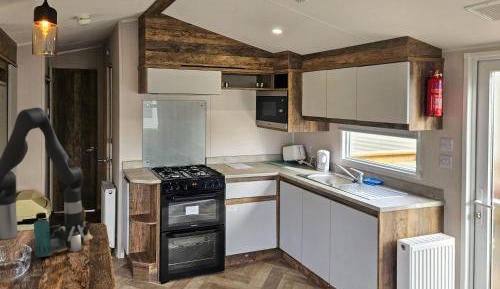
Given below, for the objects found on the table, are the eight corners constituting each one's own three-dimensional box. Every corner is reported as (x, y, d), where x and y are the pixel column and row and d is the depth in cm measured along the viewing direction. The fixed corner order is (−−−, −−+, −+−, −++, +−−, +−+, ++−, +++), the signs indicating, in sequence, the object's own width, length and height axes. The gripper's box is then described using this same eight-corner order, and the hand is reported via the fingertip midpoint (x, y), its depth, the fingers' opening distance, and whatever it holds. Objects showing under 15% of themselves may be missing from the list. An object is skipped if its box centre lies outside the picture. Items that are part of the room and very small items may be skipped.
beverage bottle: (33, 261, 185) (30, 215, 183) (36, 255, 192) (34, 211, 189) (50, 259, 187) (47, 214, 185) (52, 254, 193) (50, 210, 191)
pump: (67, 249, 199) (66, 231, 198) (77, 246, 203) (77, 229, 202) (72, 252, 195) (71, 234, 194) (83, 249, 199) (82, 231, 198)
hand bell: (94, 239, 212) (93, 208, 211) (76, 242, 208) (75, 210, 206) (90, 234, 219) (89, 204, 218) (73, 237, 215) (72, 206, 213)
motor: (40, 255, 192) (38, 234, 191) (32, 251, 197) (31, 231, 196) (76, 245, 204) (75, 226, 203) (68, 241, 210) (67, 222, 208)
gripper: (84, 206, 205) (85, 240, 207) (53, 212, 194) (55, 248, 196) (92, 209, 200) (93, 244, 202) (61, 215, 189) (63, 252, 191)
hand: (75, 246), depth 199 cm, fingers closed on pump, 5 cm apart
